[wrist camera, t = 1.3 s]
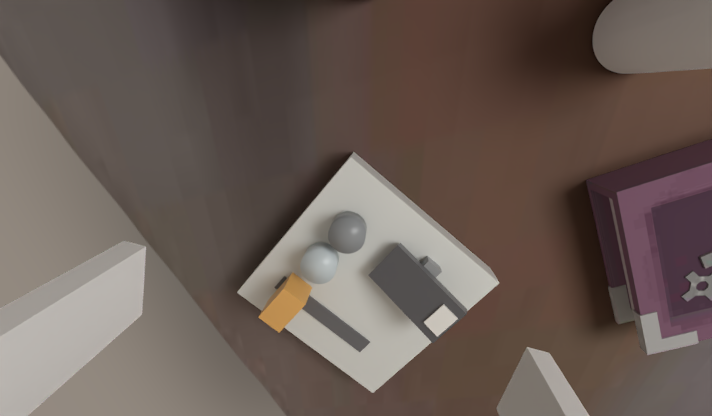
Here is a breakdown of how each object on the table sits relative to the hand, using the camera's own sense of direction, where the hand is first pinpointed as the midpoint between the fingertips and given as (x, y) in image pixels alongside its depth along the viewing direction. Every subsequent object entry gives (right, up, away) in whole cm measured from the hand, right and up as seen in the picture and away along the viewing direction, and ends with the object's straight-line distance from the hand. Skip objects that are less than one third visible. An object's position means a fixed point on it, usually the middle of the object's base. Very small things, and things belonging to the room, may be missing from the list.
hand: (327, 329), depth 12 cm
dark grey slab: (+6, -3, +19) cm, 20 cm away
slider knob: (-5, -4, +22) cm, 23 cm away
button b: (-2, -1, +21) cm, 21 cm away
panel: (+2, -3, +25) cm, 25 cm away
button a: (0, +2, +20) cm, 20 cm away
